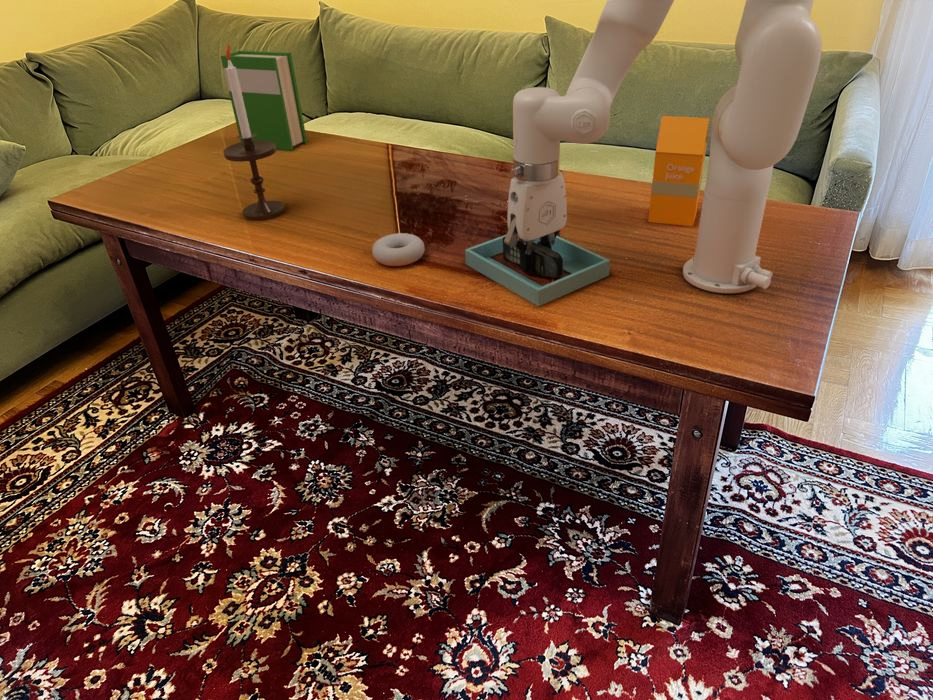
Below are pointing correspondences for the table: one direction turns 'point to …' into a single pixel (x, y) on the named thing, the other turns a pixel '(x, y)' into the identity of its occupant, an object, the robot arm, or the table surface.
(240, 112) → the candlestick
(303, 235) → the table surface
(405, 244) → the donut
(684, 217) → the orange juice
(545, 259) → the mobile phone
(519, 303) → the table surface
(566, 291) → the rectangular frame
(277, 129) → the hardback book
